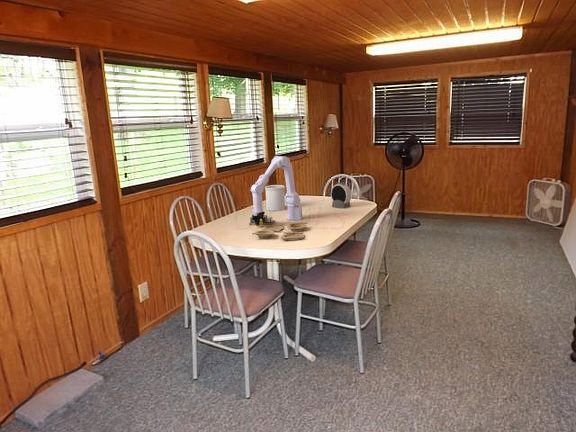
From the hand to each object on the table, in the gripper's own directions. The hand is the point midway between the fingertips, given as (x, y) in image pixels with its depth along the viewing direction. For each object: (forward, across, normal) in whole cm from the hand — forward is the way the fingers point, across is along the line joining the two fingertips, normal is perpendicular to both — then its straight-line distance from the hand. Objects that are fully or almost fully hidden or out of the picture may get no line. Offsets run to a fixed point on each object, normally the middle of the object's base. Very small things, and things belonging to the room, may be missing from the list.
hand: (259, 224), depth 267 cm
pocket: (+1, -8, -4) cm, 9 cm away
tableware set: (+2, +15, +18) cm, 24 cm away
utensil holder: (+2, -52, -2) cm, 52 cm away
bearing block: (+1, -8, +1) cm, 8 cm away
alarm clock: (+2, -62, +46) cm, 77 cm away
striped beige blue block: (0, -8, +3) cm, 8 cm away
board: (+1, -8, 0) cm, 8 cm away
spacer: (+2, 0, 0) cm, 2 cm away
